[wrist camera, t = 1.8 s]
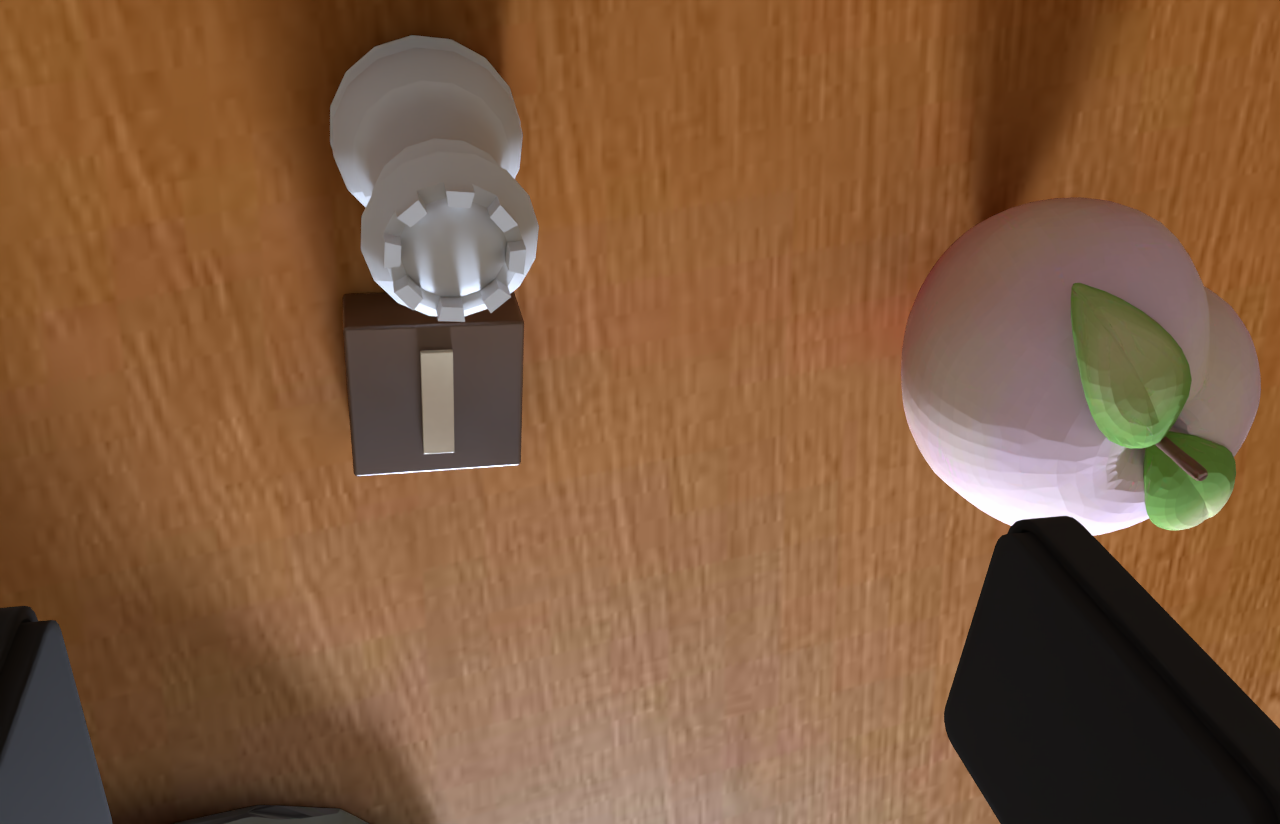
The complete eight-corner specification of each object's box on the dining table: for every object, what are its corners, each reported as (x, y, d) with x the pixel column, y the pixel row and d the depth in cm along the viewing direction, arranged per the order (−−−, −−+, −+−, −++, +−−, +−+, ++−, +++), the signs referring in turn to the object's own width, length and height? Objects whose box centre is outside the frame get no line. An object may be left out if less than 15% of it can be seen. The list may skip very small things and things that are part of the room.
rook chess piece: (394, 246, 27) (413, 408, 20) (289, 89, 24) (270, 215, 17) (549, 161, 26) (619, 297, 20) (459, -7, 24) (505, 85, 17)
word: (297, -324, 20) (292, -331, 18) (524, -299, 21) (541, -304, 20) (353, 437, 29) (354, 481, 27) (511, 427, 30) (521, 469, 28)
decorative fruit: (774, 312, 30) (938, 520, 22) (986, 89, 28) (1253, 228, 20) (955, 461, 35) (1145, 678, 27) (1147, 280, 33) (1416, 455, 25)
